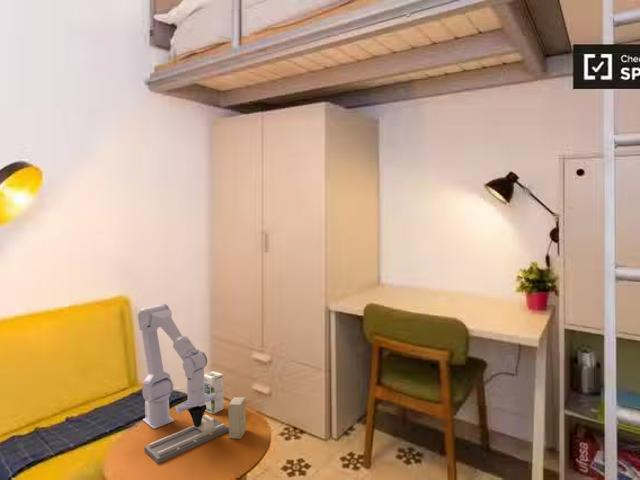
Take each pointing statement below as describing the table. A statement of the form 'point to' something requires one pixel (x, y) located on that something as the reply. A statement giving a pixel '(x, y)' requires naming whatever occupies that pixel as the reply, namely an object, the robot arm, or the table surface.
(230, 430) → the skincare box
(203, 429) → the fader tab
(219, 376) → the syrup box
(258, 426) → the table surface
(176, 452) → the gray slider track
